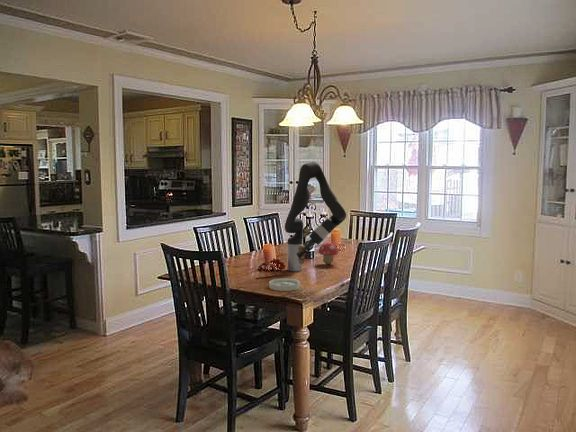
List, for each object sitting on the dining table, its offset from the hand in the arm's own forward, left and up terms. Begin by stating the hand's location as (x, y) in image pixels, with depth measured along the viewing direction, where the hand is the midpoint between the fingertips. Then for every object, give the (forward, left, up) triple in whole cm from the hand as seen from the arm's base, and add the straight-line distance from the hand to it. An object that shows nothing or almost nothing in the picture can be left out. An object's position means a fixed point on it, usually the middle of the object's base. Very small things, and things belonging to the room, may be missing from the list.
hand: (298, 256), depth 288 cm
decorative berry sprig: (-13, -24, -17) cm, 32 cm away
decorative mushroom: (-57, -3, -16) cm, 59 cm away
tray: (+10, -3, -16) cm, 19 cm away
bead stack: (-1, +2, -4) cm, 5 cm away
